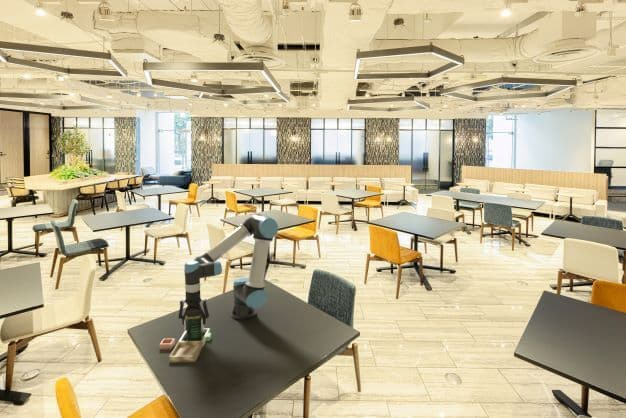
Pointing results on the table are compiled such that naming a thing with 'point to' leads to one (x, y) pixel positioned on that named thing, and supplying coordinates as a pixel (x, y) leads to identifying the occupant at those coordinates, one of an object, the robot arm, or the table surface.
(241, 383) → the table surface
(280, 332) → the table surface
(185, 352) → the beige shallow box
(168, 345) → the dish
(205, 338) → the frame
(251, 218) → the robot arm
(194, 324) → the coffee jar
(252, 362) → the table surface
